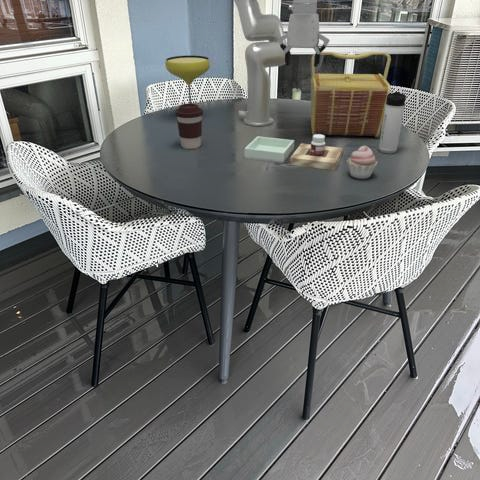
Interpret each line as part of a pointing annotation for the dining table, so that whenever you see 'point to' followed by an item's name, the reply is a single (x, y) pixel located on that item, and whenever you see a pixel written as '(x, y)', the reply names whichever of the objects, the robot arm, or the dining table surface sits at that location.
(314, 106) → the picnic basket
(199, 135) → the coffee cup
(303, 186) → the dining table surface
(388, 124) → the travel mug
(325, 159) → the socket block
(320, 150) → the pill bottle
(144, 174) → the dining table surface
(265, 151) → the tray
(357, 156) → the cupcake
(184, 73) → the cocktail glass
